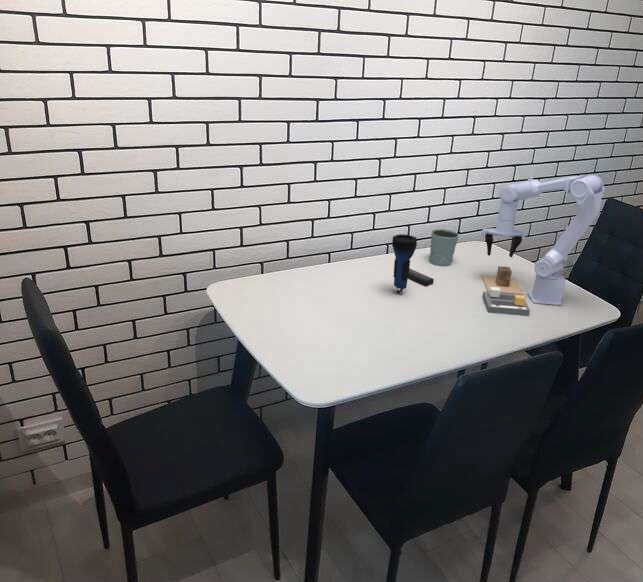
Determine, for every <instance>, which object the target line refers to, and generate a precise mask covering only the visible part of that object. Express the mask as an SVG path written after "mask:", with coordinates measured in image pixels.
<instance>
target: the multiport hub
mask: <svg viewBox="0 0 643 582" xmlns="http://www.w3.org/2000/svg"><path fill="white" fill-rule="evenodd" d="M408 276H409V278H408V280H410V281H412V282H414V283H417V284H418V285H421V286H423V287H425V288H426V287H429V286H431V285H434V280H435V279H434V278H432V277H430V276H428V275H426V274H423V273H421V272H419V271H416V270H414V269H413V268H410V269H409V275H408Z"/></svg>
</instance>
